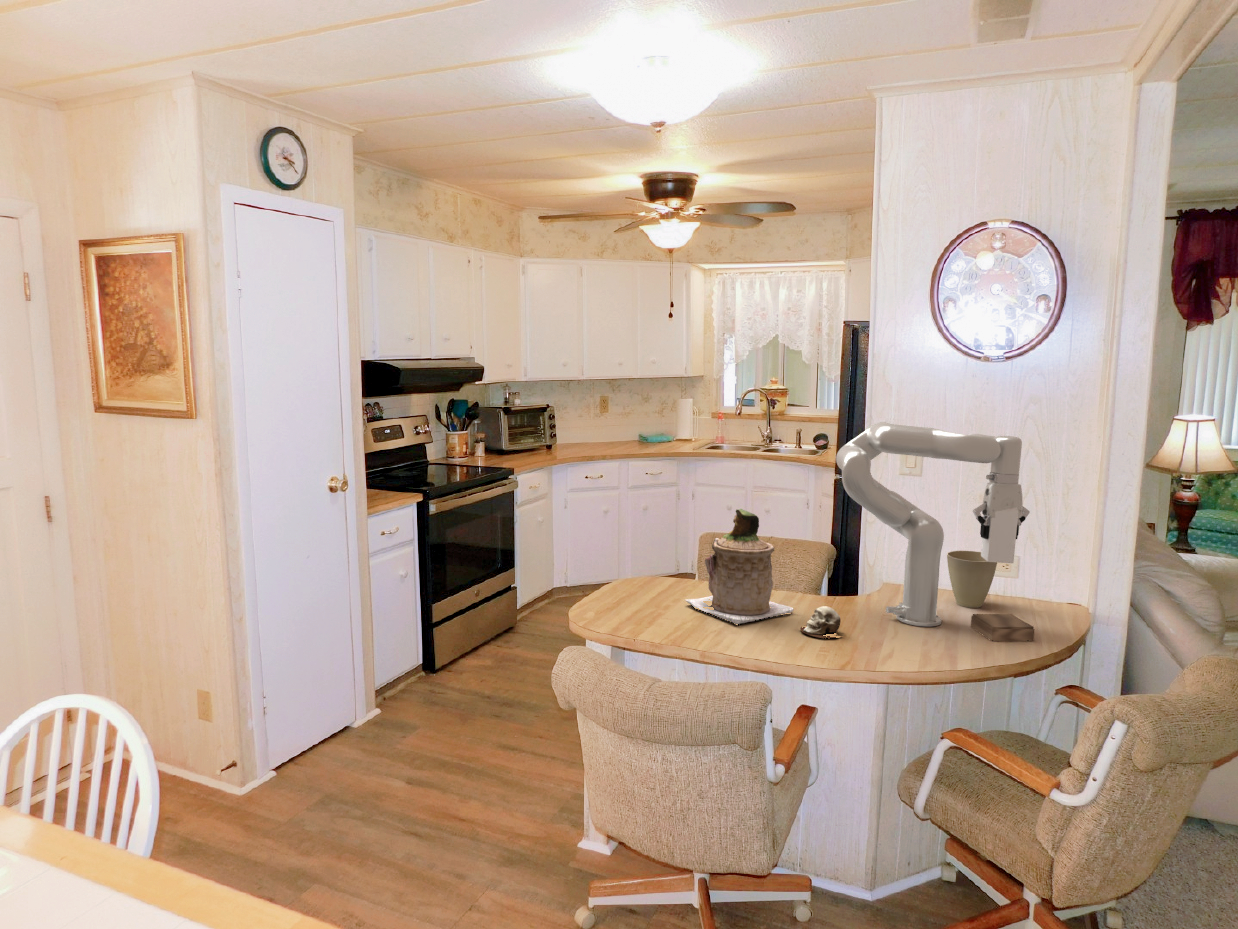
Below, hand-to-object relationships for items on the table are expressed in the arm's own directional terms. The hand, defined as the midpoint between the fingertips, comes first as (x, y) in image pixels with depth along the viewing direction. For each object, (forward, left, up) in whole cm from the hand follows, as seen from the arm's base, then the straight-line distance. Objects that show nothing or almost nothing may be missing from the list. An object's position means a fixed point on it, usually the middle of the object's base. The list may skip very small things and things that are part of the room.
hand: (998, 538), depth 240 cm
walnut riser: (-2, -9, -26) cm, 27 cm away
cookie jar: (-73, +13, -26) cm, 78 cm away
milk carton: (0, 0, -7) cm, 7 cm away
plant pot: (+2, +19, -26) cm, 32 cm away
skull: (-53, -8, -26) cm, 60 cm away
